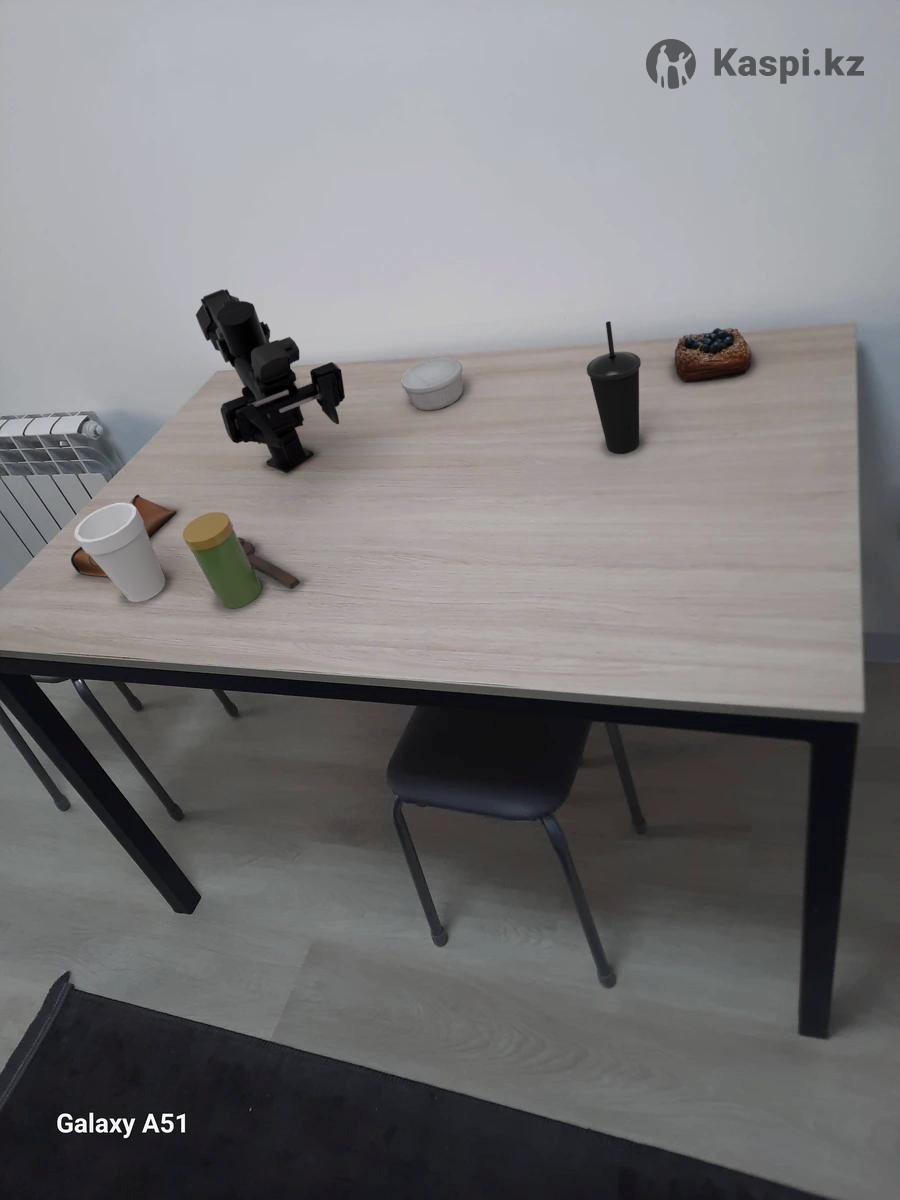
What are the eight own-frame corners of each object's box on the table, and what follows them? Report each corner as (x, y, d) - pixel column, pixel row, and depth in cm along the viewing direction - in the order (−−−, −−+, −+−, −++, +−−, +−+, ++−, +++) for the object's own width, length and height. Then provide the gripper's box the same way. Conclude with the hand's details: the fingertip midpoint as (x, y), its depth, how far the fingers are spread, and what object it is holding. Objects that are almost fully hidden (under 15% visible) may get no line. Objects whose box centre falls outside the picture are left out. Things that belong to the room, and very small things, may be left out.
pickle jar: (210, 599, 126) (173, 532, 118) (246, 573, 129) (212, 506, 121) (234, 615, 122) (197, 547, 114) (271, 588, 125) (237, 520, 117)
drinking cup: (592, 459, 130) (574, 336, 118) (604, 431, 135) (588, 311, 123) (642, 459, 127) (629, 334, 114) (653, 431, 132) (641, 308, 119)
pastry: (672, 356, 148) (669, 324, 145) (744, 343, 146) (744, 311, 142) (678, 387, 140) (676, 354, 136) (755, 374, 138) (755, 340, 134)
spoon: (215, 553, 135) (213, 549, 135) (237, 538, 137) (235, 534, 137) (283, 594, 123) (281, 590, 122) (307, 577, 125) (305, 572, 124)
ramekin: (396, 411, 157) (388, 386, 154) (428, 381, 163) (421, 355, 160) (447, 416, 151) (440, 390, 148) (478, 384, 157) (472, 358, 154)
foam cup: (109, 591, 134) (66, 526, 126) (161, 561, 138) (123, 495, 129) (129, 617, 128) (86, 550, 120) (183, 584, 131) (145, 516, 123)
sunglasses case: (112, 576, 137) (79, 546, 134) (96, 589, 142) (64, 561, 139) (179, 508, 148) (149, 480, 146) (162, 523, 153) (133, 495, 151)
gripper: (193, 352, 122) (237, 412, 114) (311, 310, 128) (361, 364, 120) (212, 414, 131) (254, 473, 123) (321, 372, 137) (368, 426, 129)
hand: (309, 433), depth 123 cm, fingers open, 9 cm apart
